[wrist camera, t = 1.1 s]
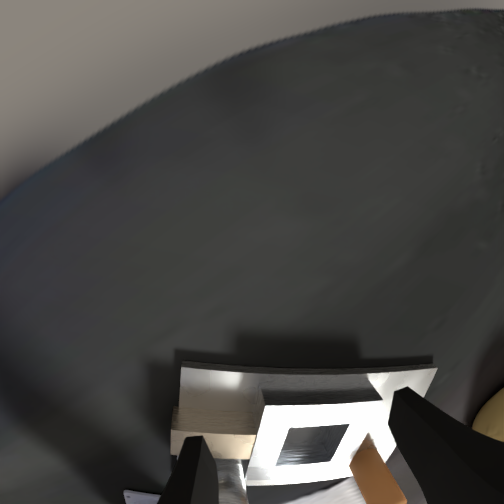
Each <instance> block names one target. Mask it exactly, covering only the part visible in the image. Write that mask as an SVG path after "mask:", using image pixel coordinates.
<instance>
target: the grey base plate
mask: <svg viewBox="0 0 504 504" xmlns="http://www.w3.org/2000/svg"><path fill="white" fill-rule="evenodd" d="M437 368H438V367H436V366H435V365H434V364H433V363H430V364H420V365H408V366H393V367H375V368H342V369H305V368H271V367H252V366H237V365H224V364H213V363H202V362H193V361H184V360H182V365H181V379H180V396H179V407H185V408H194V409H206V410H219V411H237V412H252V410H253V406H254V402H255V398H256V393H257V389H258V385H259V382H281V383H329V382H356V381H370V382H371V384H372V385H373V386H374V388H375V389H376V390H377V392H378V393H379V394H380V396H381V397H382V399H383V403H382V405H381V407H380V409H379V411H378V413H377V415H376V417H375V419H374V421H373V423H372V425H371V427H370V428H369V430H368V432H367V434H366V436H365V438H364V440H363V441H362V443H361V445H360V447H359V449H358V450H357V452H356V454H357V453H359V452H361V451H363V450H366V449H370V448H374V449H377V451H378V452H379V454H380V456H381V457H382V459H383V461H384V462H386V460H387V459H388V457H389V456H390V454H391V453H392V451H393V450H394V448H395V447H396V443H395V440H394V438H393V436H392V433H391V431H390V428H389V426H388V419H389V414H390V410H391V404H392V399H393V394H394V391H396V390H399V389H402V388H404V387H407V386H408V387H409V388H411V389H412V390H414V391H415V392H416V393H418V394H419V395H420V396H422V397H424V395H425V393H426V391H427V389H428V387H429V385H430V383H431V381H432V379H433V377H434V375H435V373H436V371H437ZM328 426H329V425H323V426H306V427H289V429H288V432H287V435H286V438H285V440H284V443H302V442H317V441H322V440H323V438H324V435H325V433H326V431H327V429H328ZM356 454H355V455H356ZM178 457H179V455H177V459H178ZM214 460H215V462H216V465H217V474H218V483H219V504H249V503H248V497H247V491H246V486H256V485H279V484H293V483H304V482H313V481H321V480H329V479H336V478H342V477H348V476H353V474H352V472H351V470H350V468H349V466H348V467H347V469H346V471H345V472H344V473H337V474H330V475H323V476H314V477H305V478H293V479H278V480H246V481H244V477H243V470H242V464H241V459H220V458H214Z"/></svg>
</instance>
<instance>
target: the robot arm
mask: <svg viewBox="0 0 504 504" xmlns="http://www.w3.org/2000/svg"><path fill="white" fill-rule="evenodd" d="M388 426H389V428H390V431H391V433H392V436H393V438H394V440H395V443H396V445H397V447H398V448H399V450H400V452H401V454H402V455H403V457H404V459H405V460H406V462H407V464H408V466H409V467H410V469H411V471H412V472H413V474H414V476H415V478H416V479H417V481H418V483H419V485H420V487H421V489H422V491H423V493H424V496H425V498H426V501H427V504H504V442H502V441H499V440H496V439H493V438H491V437H488V436H486V435H484V434H482V433H479V432H477V431H475V430H473V429H471V428H469V427H468V426H466V425H464V424H462V423H461V422H459V421H457V420H456V419H454V418H452V417H451V416H449V415H448V414H446V413H445V412H443V411H442V410H440V409H439V408H437V407H436V406H434V405H433V404H432V403H430V402H429V401H427V400H426V399H425V398H423V397H422V396H420V395H419V394H418V393H416V392H415V391H414V390H412V389H411V388H409V387H408V386H407V387H404V388H402V389H399V390H396V391H394V394H393V399H392V404H391V410H390V414H389V419H388ZM123 494H124V498H125V501H126V504H219V483H218V474H217V465H216V462H215V460H214V458H213V456H212V454H211V452H210V450H209V447H208V445H207V443H206V441H205V439H204V437H203V435H201V436H190V437H186V438H185V439H184V442H183V445H182V448H181V451H180V454H179V457H178V459H177V462H176V464H175V467H174V469H173V471H172V474H171V476H170V478H169V480H168V482H167V485H166V487H165V489H164V491H163V493H162V494H161V495H156V494H149V493H142V492H136V491H131V490H124V493H123Z"/></svg>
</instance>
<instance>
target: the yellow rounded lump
mask: <svg viewBox="0 0 504 504" xmlns="http://www.w3.org/2000/svg"><path fill="white" fill-rule="evenodd" d="M472 429H473V430H475V431H477V432H479V433H482V434H484V435H486V436H488V437H491V438H493V439H496V440H499V441H502V442H504V388H502V389H501V390H500V391H499V392H497V393H496V394H495V395H494V396H493V397H492V398H491V399H490V400H488V401H487V402H486V404H485V405H484V406H483V407H482V408H481V409H480V411H479V412H478V414H477V416H476V418H475V420H474V422H473V426H472Z"/></svg>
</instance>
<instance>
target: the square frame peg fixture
mask: <svg viewBox="0 0 504 504" xmlns="http://www.w3.org/2000/svg"><path fill="white" fill-rule="evenodd" d="M382 403H383V399H382V397H381V396H380V394H379V393H378V392H377V390H376V389H375V388H374V386H373V385H372V384H371V382H370V381H356V382H329V383H281V382H259V385H258V389H257V393H256V398H255V402H254V406H253V410H252V412H237V411H219V410H206V409H194V408H185V407H176V406H173V414H172V424H171V455H179V454H180V451H181V448H182V445H183V442H184V439H185V438H186V437H190V436H201V435H203V437H204V439H205V441H206V443H207V445H208V447H209V450H210V452H211V454H212V456H213V458H220V459H241V464H242V470H243V477H244V481H246V480H278V479H293V478H305V477H314V476H323V475H330V474H337V473H344V472H345V471H346V469H347V467H348V466H349V464H350V462H351V461H352V459H353V457H354V455H355V454H356V452H357V450H358V449H359V447H360V445H361V443H362V441H363V440H364V438H365V436H366V434H367V432H368V430H369V428H370V427H371V425H372V423H373V421H374V419H375V417H376V415H377V413H378V411H379V409H380V407H381V405H382ZM323 425H329V426H328V429H327V431H326V433H325V435H324V438H323V440H322V441H317V442H302V443H284V440H285V438H286V435H287V432H288V429H289V427H306V426H323Z"/></svg>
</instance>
